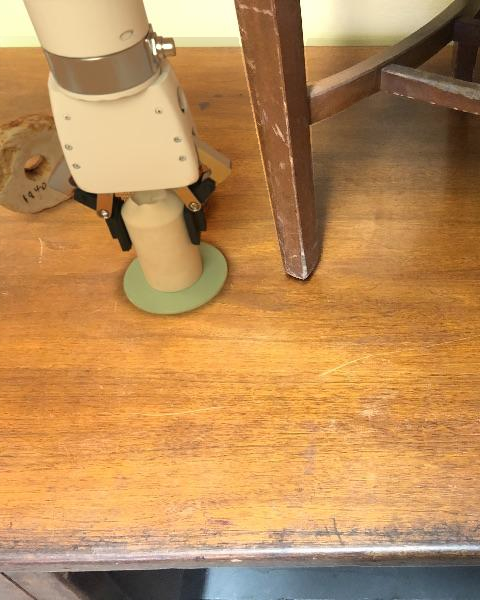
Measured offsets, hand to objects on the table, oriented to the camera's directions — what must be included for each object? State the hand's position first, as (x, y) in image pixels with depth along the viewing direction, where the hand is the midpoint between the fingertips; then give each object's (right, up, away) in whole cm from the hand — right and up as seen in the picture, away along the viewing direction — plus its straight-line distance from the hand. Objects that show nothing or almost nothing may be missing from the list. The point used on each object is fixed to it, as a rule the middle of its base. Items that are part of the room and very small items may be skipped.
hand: (162, 236), depth 63 cm
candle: (0, -3, +4) cm, 5 cm away
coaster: (0, -4, +4) cm, 5 cm away
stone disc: (-16, +5, +12) cm, 21 cm away
